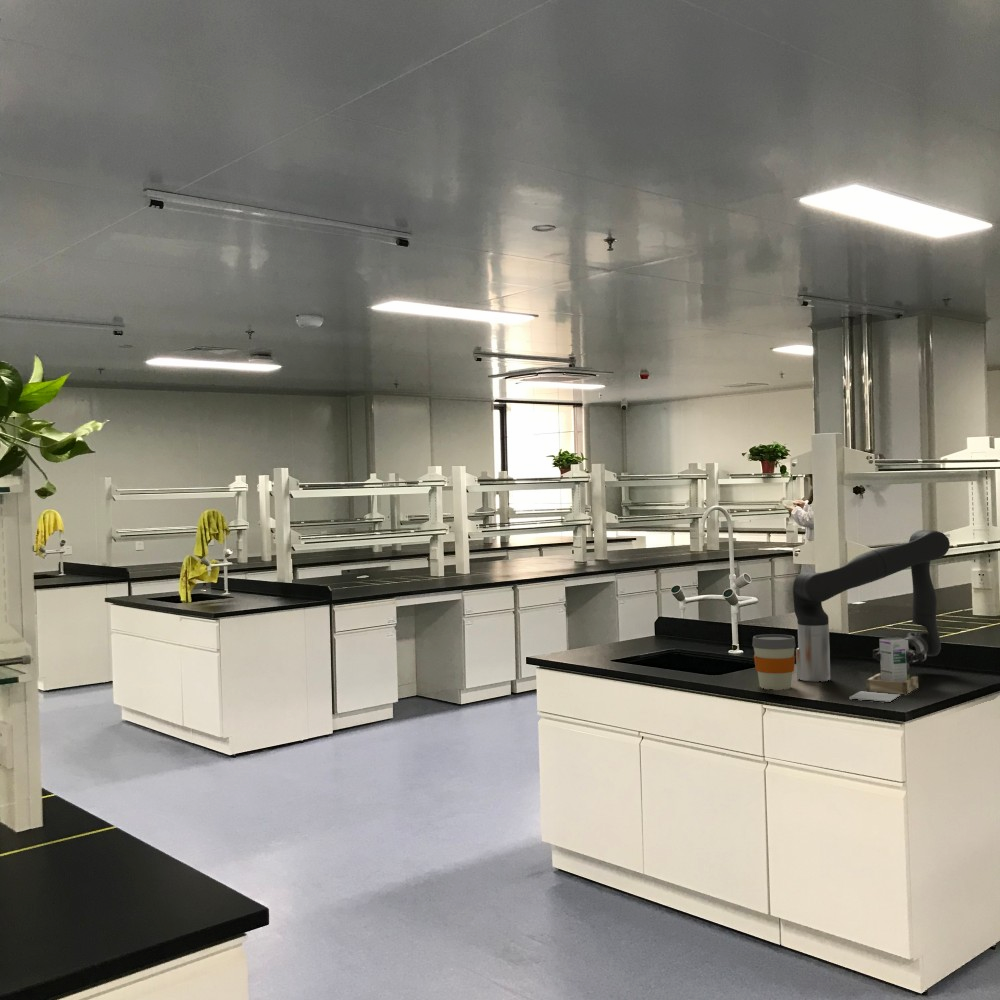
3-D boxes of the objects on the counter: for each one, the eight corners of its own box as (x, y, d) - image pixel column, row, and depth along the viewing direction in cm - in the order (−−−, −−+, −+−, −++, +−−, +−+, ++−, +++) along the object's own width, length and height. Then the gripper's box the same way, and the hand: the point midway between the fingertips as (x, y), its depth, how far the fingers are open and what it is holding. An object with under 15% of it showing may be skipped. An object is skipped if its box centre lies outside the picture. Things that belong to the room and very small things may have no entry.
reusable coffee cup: (761, 691, 291) (760, 640, 291) (748, 684, 304) (746, 635, 304) (803, 689, 292) (801, 638, 292) (788, 682, 305) (786, 633, 305)
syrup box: (893, 690, 287) (891, 640, 287) (880, 687, 293) (879, 637, 293) (910, 689, 288) (908, 639, 288) (897, 685, 294) (895, 636, 294)
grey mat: (849, 699, 277) (849, 697, 277) (860, 693, 285) (860, 691, 285) (890, 703, 270) (889, 700, 270) (900, 696, 278) (900, 694, 278)
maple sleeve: (879, 684, 296) (879, 673, 296) (918, 688, 290) (917, 676, 290) (866, 692, 286) (866, 679, 286) (906, 695, 280) (906, 683, 280)
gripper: (883, 637, 306) (867, 643, 293) (932, 639, 298) (917, 646, 285) (884, 661, 306) (867, 669, 293) (933, 664, 298) (918, 673, 285)
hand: (892, 658), depth 289 cm, fingers closed on syrup box, 8 cm apart
